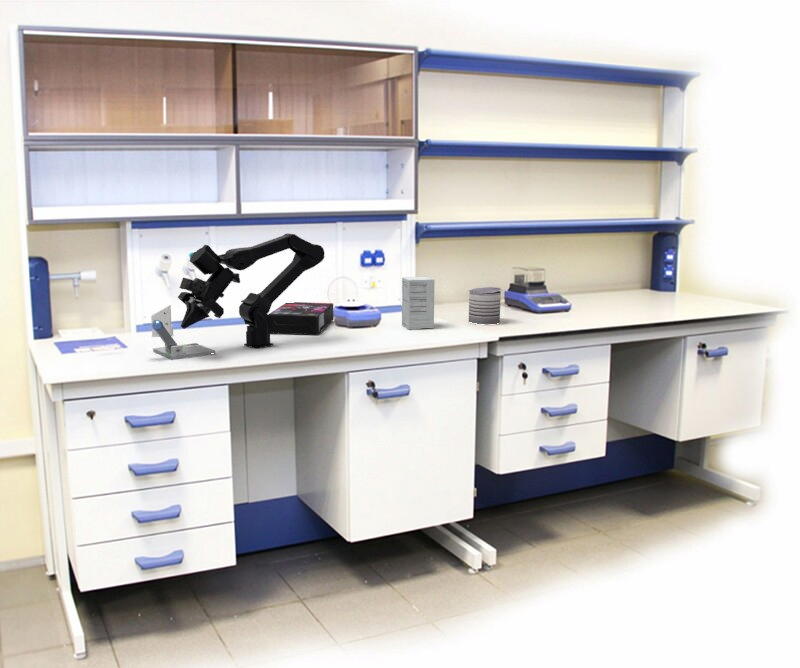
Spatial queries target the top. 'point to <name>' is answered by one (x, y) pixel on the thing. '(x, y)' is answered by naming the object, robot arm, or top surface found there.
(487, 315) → the can
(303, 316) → the graphics card box
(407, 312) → the supplement box
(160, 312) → the grey plate
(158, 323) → the lever
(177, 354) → the switch panel
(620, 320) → the top surface
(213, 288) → the robot arm
